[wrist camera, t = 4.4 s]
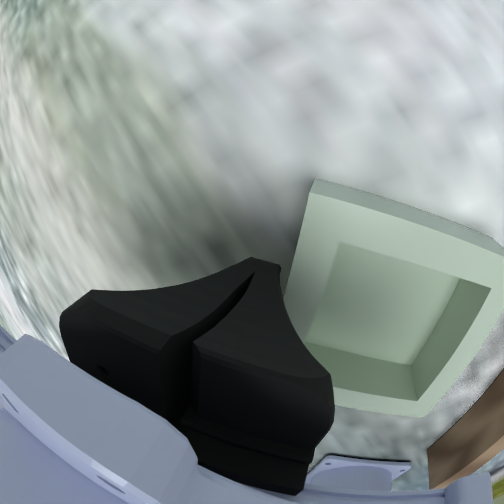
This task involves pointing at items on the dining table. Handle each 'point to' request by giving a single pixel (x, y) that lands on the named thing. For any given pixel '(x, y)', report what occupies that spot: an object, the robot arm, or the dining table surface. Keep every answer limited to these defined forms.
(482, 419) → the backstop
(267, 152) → the dining table surface
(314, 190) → the holder
